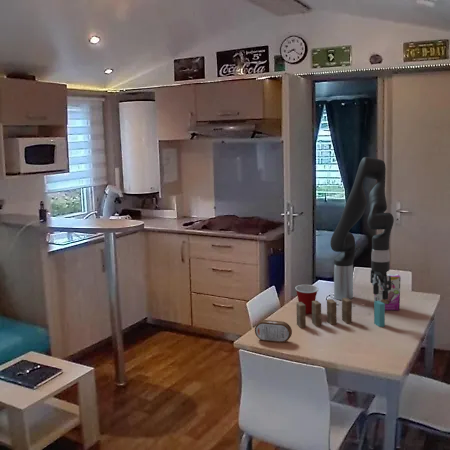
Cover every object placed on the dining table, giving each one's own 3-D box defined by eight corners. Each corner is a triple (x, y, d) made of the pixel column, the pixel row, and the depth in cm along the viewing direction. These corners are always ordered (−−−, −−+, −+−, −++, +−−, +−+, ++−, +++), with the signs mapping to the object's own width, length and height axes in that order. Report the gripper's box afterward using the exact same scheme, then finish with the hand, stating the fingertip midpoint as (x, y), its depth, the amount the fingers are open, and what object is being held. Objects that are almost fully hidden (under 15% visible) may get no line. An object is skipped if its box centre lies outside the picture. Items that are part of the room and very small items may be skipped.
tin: (292, 341, 227) (291, 321, 226) (290, 344, 224) (290, 323, 223) (256, 338, 232) (255, 318, 231) (254, 340, 229) (253, 321, 228)
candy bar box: (375, 310, 262) (375, 276, 259) (373, 307, 266) (374, 273, 264) (400, 310, 260) (400, 276, 258) (398, 307, 265) (398, 273, 263)
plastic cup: (303, 317, 256) (303, 291, 254) (291, 311, 265) (290, 286, 263) (323, 313, 260) (323, 288, 258) (310, 307, 270) (310, 283, 268)
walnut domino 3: (331, 325, 244) (331, 302, 243) (327, 321, 249) (327, 299, 248) (336, 324, 245) (336, 302, 243) (332, 320, 250) (332, 299, 248)
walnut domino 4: (346, 323, 246) (346, 301, 244) (342, 319, 251) (342, 298, 249) (351, 323, 246) (351, 300, 245) (347, 319, 251) (347, 297, 249)
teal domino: (379, 327, 240) (379, 304, 238) (374, 323, 245) (374, 301, 243) (384, 326, 240) (384, 303, 239) (379, 322, 245) (379, 300, 244)
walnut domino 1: (300, 328, 242) (300, 305, 240) (296, 324, 247) (296, 302, 245) (305, 327, 242) (305, 305, 241) (302, 323, 247) (301, 301, 246)
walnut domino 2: (315, 326, 243) (315, 304, 242) (312, 322, 248) (311, 300, 246) (321, 326, 244) (321, 303, 242) (317, 322, 249) (317, 300, 247)
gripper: (396, 262, 232) (396, 300, 234) (380, 255, 246) (380, 291, 248) (379, 263, 231) (379, 302, 233) (364, 256, 244) (365, 293, 247)
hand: (380, 296), depth 241 cm, fingers open, 8 cm apart
